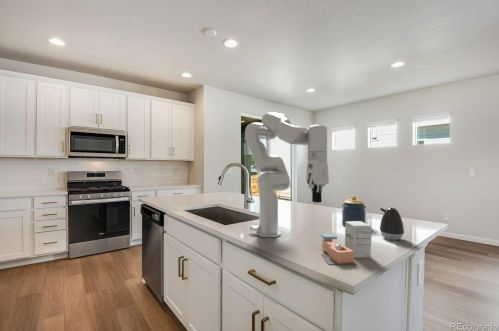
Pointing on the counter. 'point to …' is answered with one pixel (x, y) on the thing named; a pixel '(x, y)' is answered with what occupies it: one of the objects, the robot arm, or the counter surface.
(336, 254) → the link
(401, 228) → the pump dispenser
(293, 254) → the counter surface
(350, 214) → the canister
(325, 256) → the pintle station
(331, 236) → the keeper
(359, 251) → the supplement box
